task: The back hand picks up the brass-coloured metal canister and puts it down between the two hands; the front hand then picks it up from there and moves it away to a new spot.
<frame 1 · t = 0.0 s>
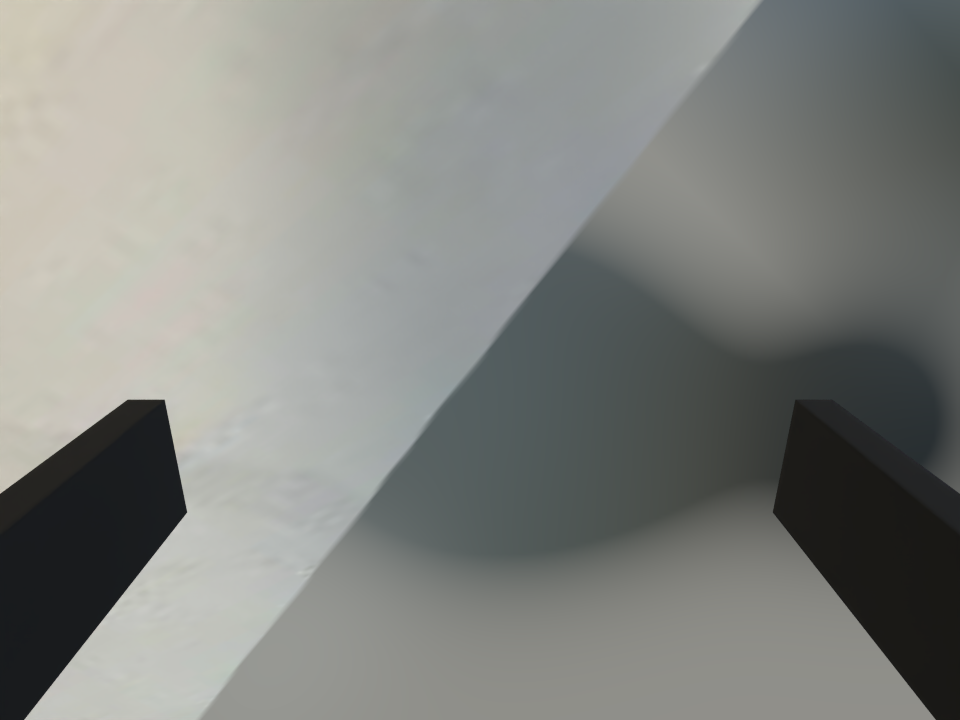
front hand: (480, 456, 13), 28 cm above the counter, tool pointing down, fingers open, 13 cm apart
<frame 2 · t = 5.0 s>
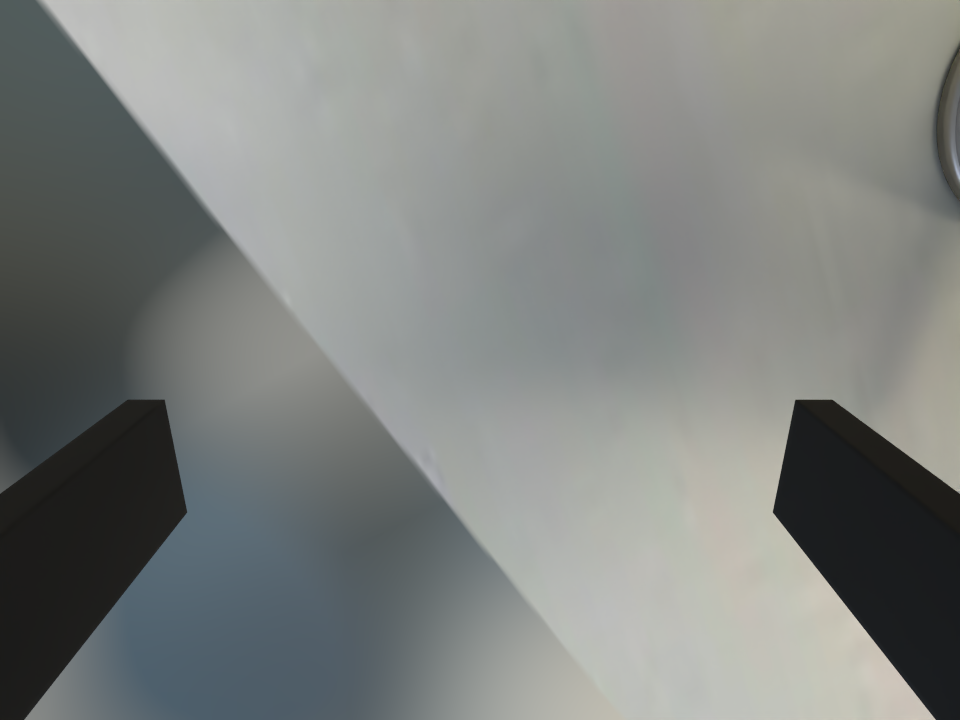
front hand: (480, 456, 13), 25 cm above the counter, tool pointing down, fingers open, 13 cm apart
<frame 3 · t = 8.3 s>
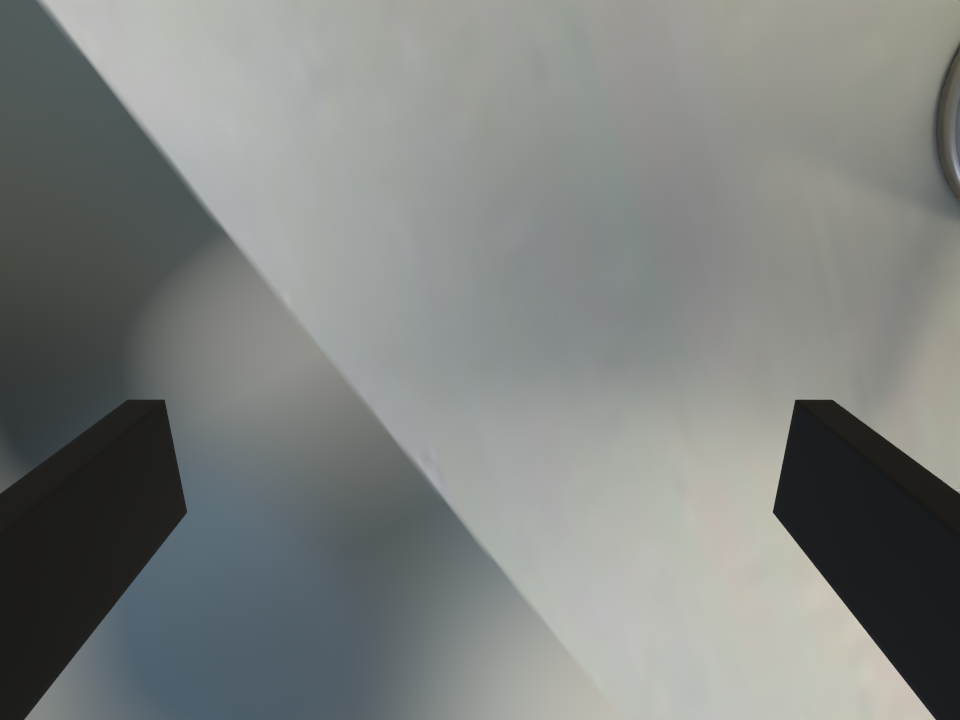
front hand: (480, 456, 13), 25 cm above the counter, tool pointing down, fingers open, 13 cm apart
when the back hand's fingers open (5 cm above the counter, at t = 11.9 s): canister drops 2 cm, on the counter.
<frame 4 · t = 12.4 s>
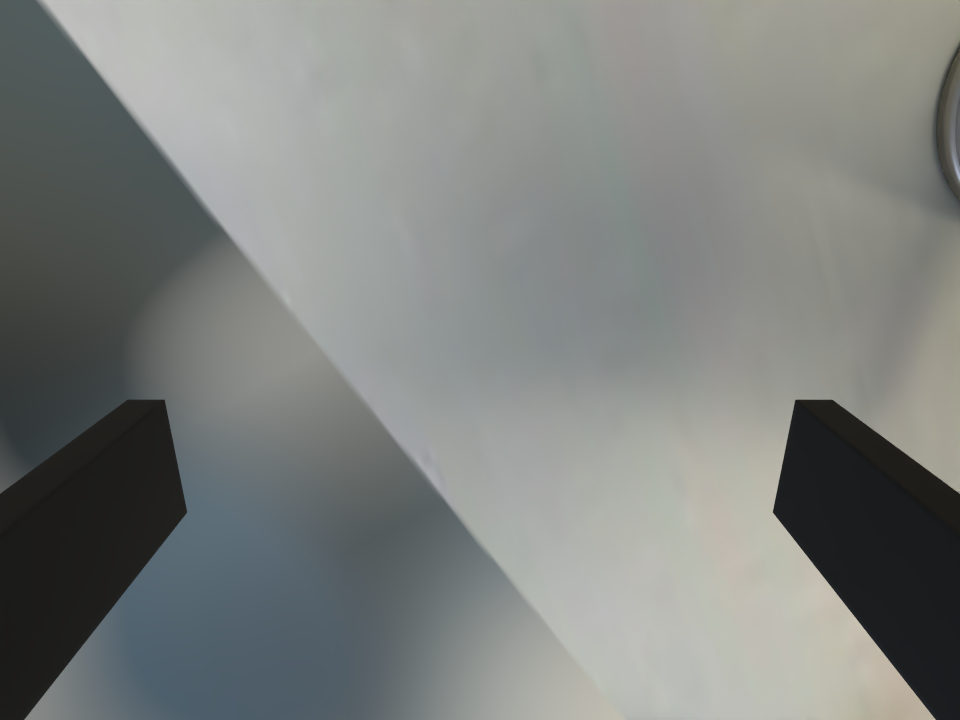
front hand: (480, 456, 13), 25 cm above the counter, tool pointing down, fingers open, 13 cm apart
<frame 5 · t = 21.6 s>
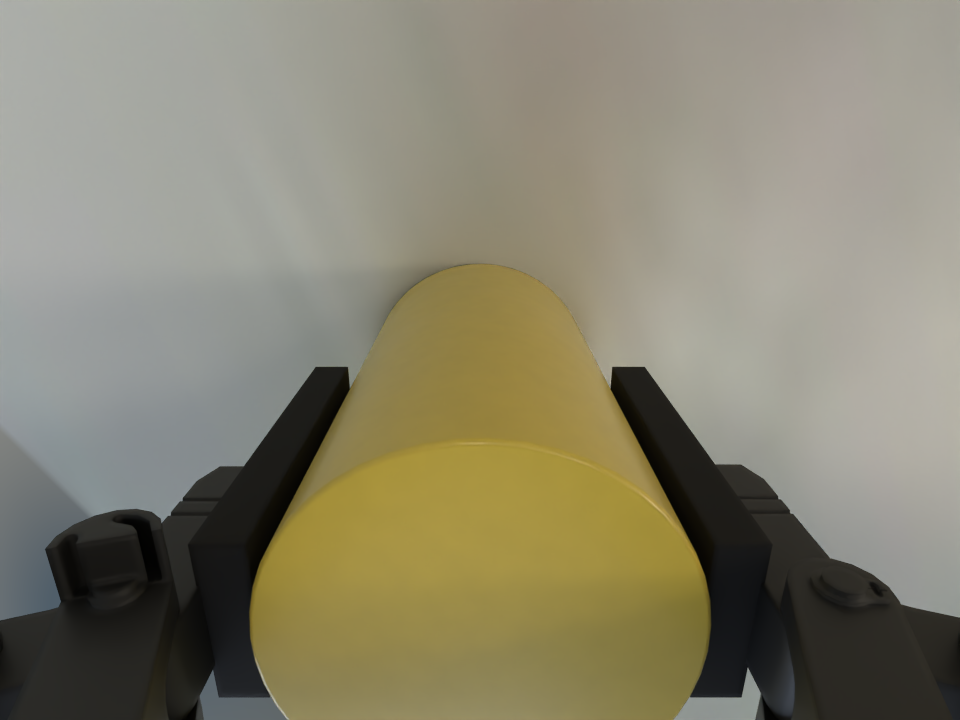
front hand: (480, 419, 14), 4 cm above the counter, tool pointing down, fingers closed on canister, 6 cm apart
canister: (480, 366, 18), on the counter, touching front hand
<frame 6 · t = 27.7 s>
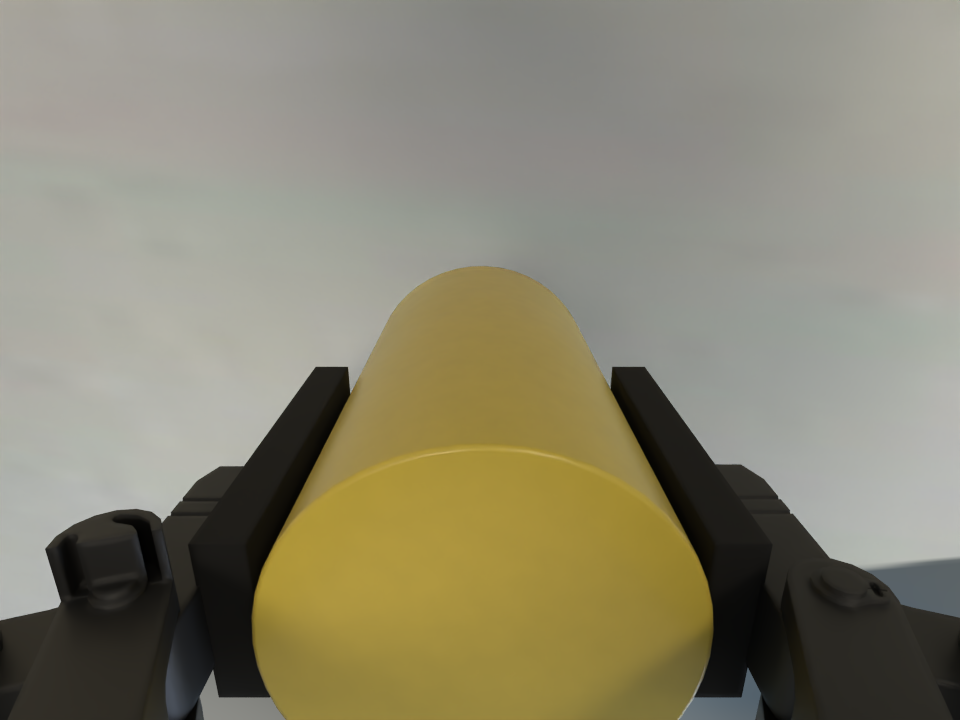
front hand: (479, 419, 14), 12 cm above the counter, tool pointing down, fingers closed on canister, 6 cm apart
canister: (481, 368, 18), point 8 cm above the counter, touching front hand
when the front hand's fingers open (5 cm above the counter, at t = 33.8 s): canister drops 2 cm, on the counter.
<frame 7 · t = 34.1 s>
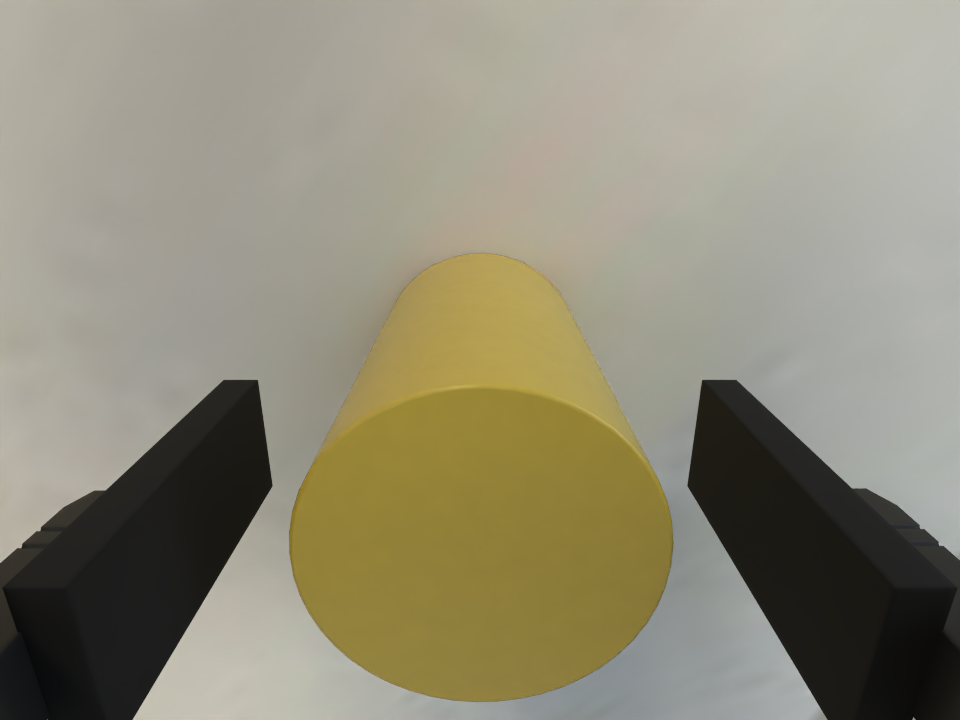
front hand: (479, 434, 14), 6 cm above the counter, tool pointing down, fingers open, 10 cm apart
canister: (480, 347, 19), on the counter
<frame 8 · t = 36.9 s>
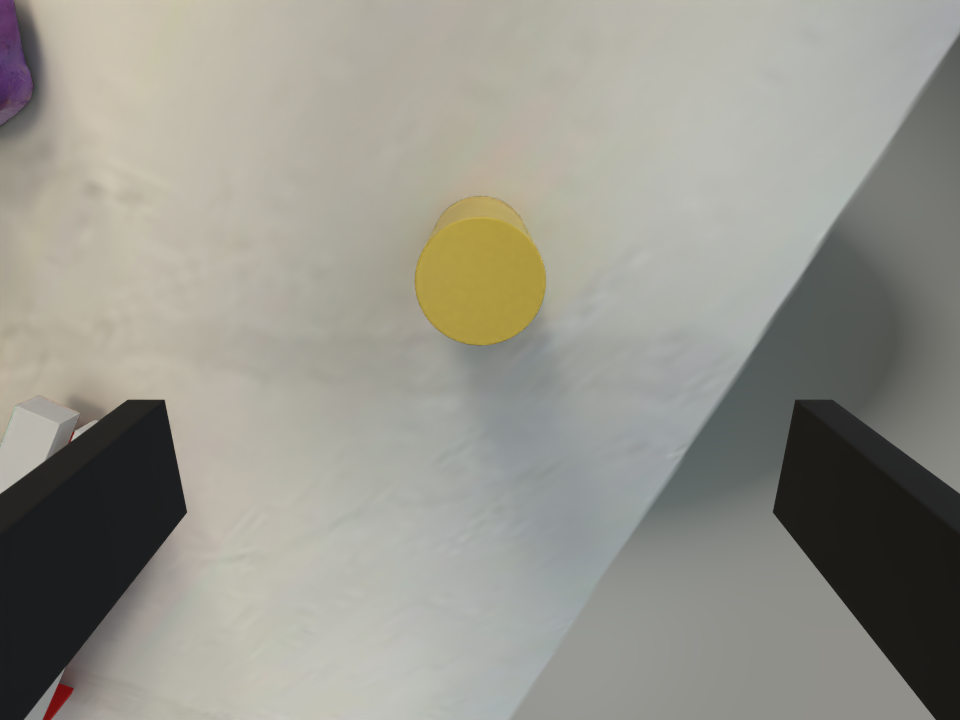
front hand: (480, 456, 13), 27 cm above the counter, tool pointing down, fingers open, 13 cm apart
canister: (480, 246, 38), on the counter
toy: (58, 552, 46), on the counter
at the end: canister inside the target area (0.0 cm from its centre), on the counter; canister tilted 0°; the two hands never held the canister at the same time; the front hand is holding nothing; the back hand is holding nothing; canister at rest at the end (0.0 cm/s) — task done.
